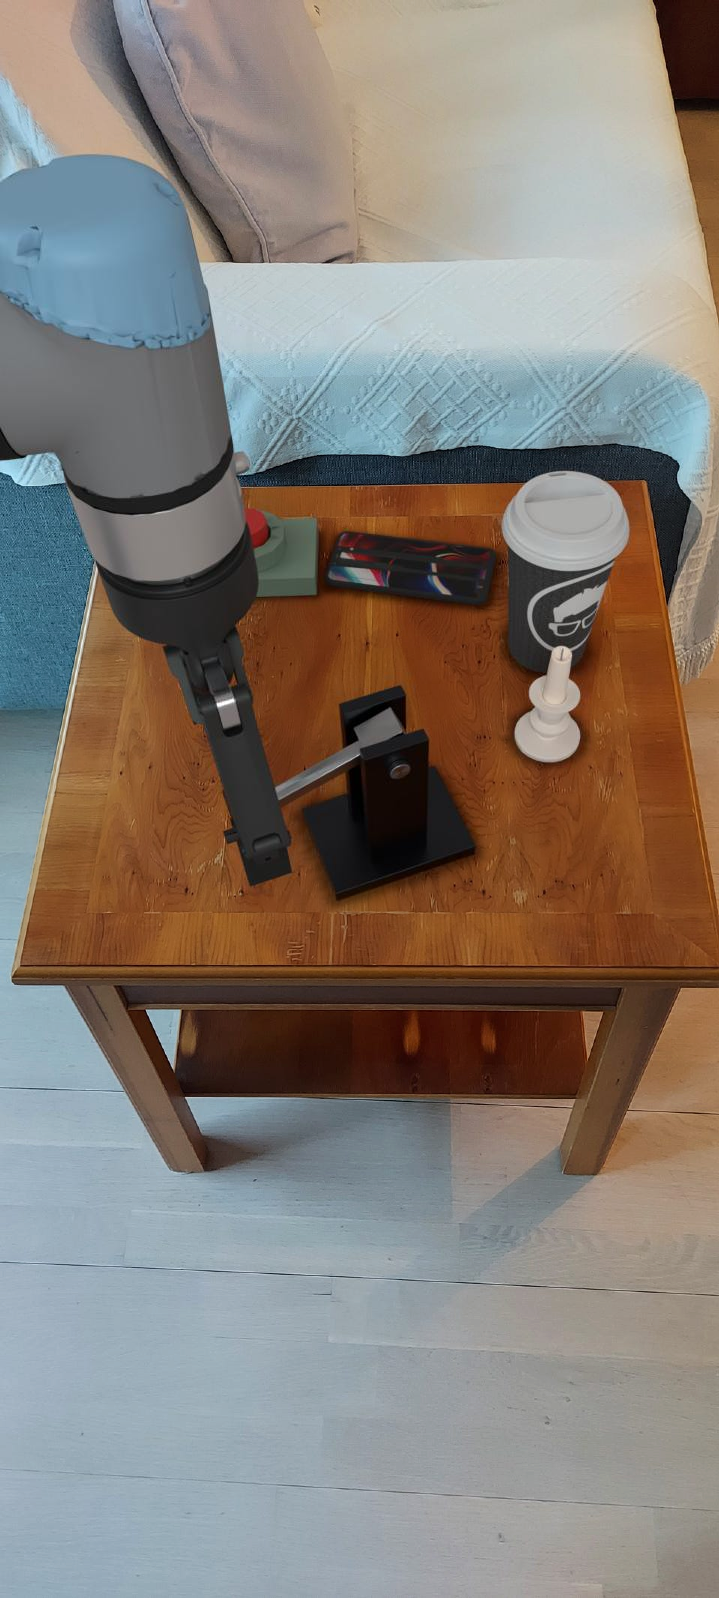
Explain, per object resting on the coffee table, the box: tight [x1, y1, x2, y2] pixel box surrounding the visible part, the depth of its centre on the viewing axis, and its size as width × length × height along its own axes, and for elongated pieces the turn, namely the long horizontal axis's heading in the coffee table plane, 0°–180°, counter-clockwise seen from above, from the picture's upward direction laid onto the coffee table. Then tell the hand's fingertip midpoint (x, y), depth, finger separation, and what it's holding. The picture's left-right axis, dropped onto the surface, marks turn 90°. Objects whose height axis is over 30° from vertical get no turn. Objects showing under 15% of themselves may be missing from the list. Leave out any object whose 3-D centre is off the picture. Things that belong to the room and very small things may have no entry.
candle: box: [513, 646, 581, 763], centre depth 76 cm, size 5×5×10 cm
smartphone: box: [324, 530, 497, 606], centre depth 92 cm, size 7×1×15 cm
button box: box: [253, 509, 320, 598], centre depth 92 cm, size 12×8×4 cm, turn 90°
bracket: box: [301, 684, 477, 902], centre depth 70 cm, size 11×8×14 cm
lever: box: [221, 708, 407, 819], centre depth 67 cm, size 13×5×2 cm, turn 110°
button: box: [245, 508, 268, 549], centre depth 90 cm, size 4×4×2 cm
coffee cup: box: [500, 470, 631, 674], centre depth 80 cm, size 10×10×15 cm
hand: (238, 790), depth 65 cm, fingers open, 13 cm apart
